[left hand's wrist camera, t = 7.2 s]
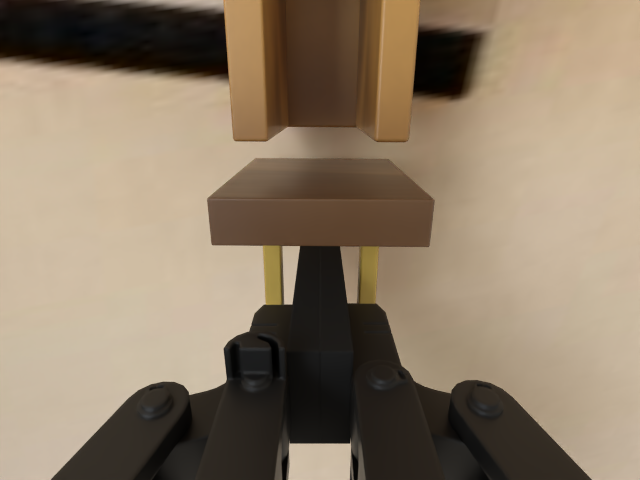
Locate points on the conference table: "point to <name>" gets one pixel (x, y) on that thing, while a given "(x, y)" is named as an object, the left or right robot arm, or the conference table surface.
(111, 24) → the conference table surface
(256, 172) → the drawer
